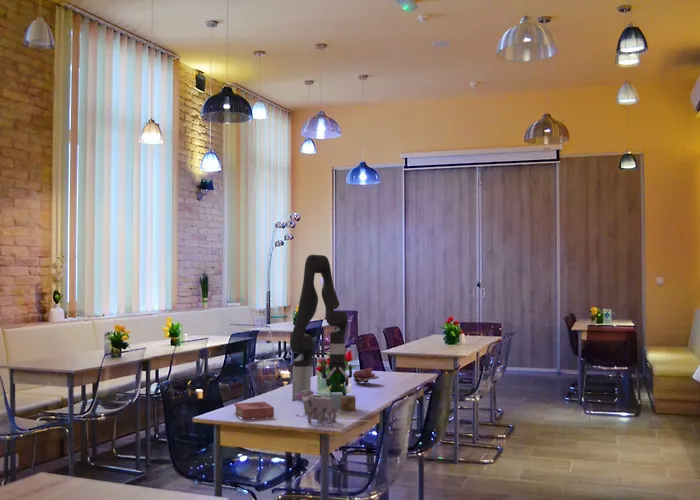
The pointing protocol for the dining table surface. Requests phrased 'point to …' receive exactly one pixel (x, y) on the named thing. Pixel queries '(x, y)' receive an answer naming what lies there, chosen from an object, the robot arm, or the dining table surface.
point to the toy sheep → (317, 406)
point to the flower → (364, 375)
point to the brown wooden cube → (348, 403)
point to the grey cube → (336, 398)
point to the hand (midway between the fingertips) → (337, 386)
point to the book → (254, 410)
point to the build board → (344, 411)
